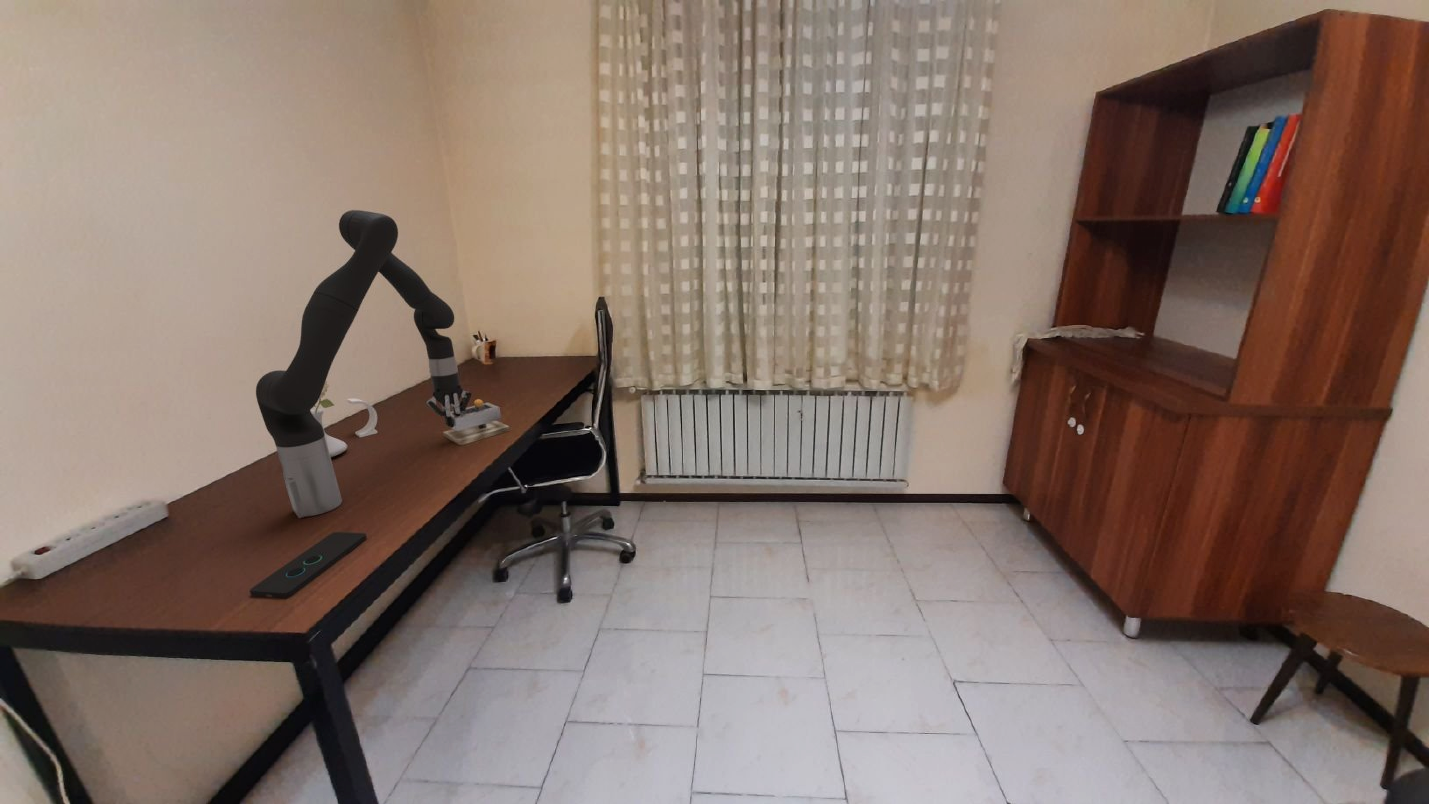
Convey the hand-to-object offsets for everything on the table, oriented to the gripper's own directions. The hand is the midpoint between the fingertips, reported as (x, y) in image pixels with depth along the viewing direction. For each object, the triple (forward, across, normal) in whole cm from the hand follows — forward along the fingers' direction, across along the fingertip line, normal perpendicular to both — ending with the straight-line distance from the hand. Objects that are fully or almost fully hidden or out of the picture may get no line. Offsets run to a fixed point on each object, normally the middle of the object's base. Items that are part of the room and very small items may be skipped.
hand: (454, 425), depth 170 cm
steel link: (+1, +6, 0) cm, 6 cm away
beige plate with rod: (+5, +7, 0) cm, 8 cm away
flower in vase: (+5, -30, +17) cm, 35 cm away
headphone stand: (+5, -16, +29) cm, 34 cm away
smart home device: (+5, -47, -46) cm, 67 cm away
